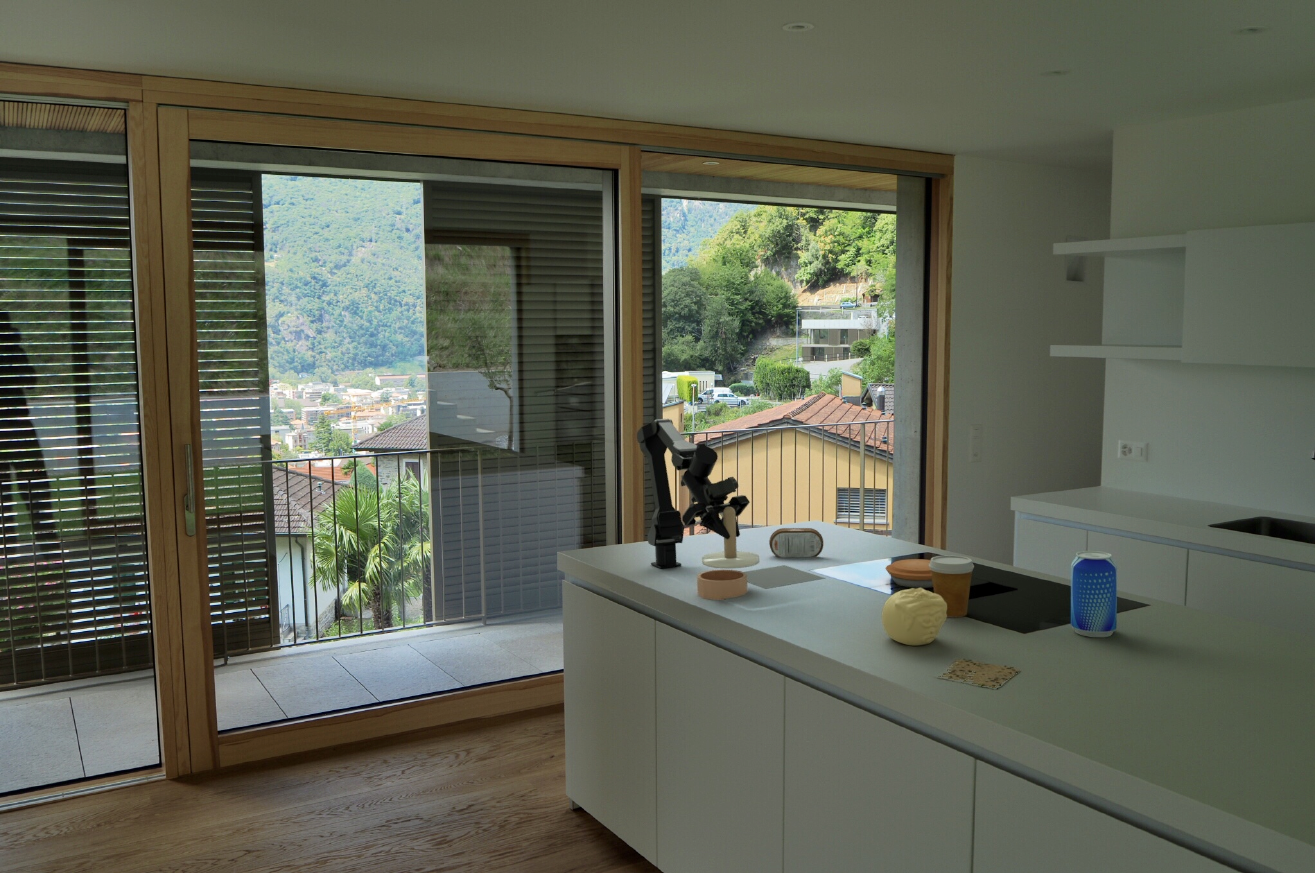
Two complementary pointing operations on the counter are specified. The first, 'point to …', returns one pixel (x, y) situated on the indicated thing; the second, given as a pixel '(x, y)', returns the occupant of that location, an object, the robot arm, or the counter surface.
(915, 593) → the pale yellow lumpy ball
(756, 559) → the lid
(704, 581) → the bowl
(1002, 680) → the cookie
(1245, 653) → the counter surface
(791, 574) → the mat
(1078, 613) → the beer can
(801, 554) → the tin
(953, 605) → the disposable coffee cup
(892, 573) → the pie
